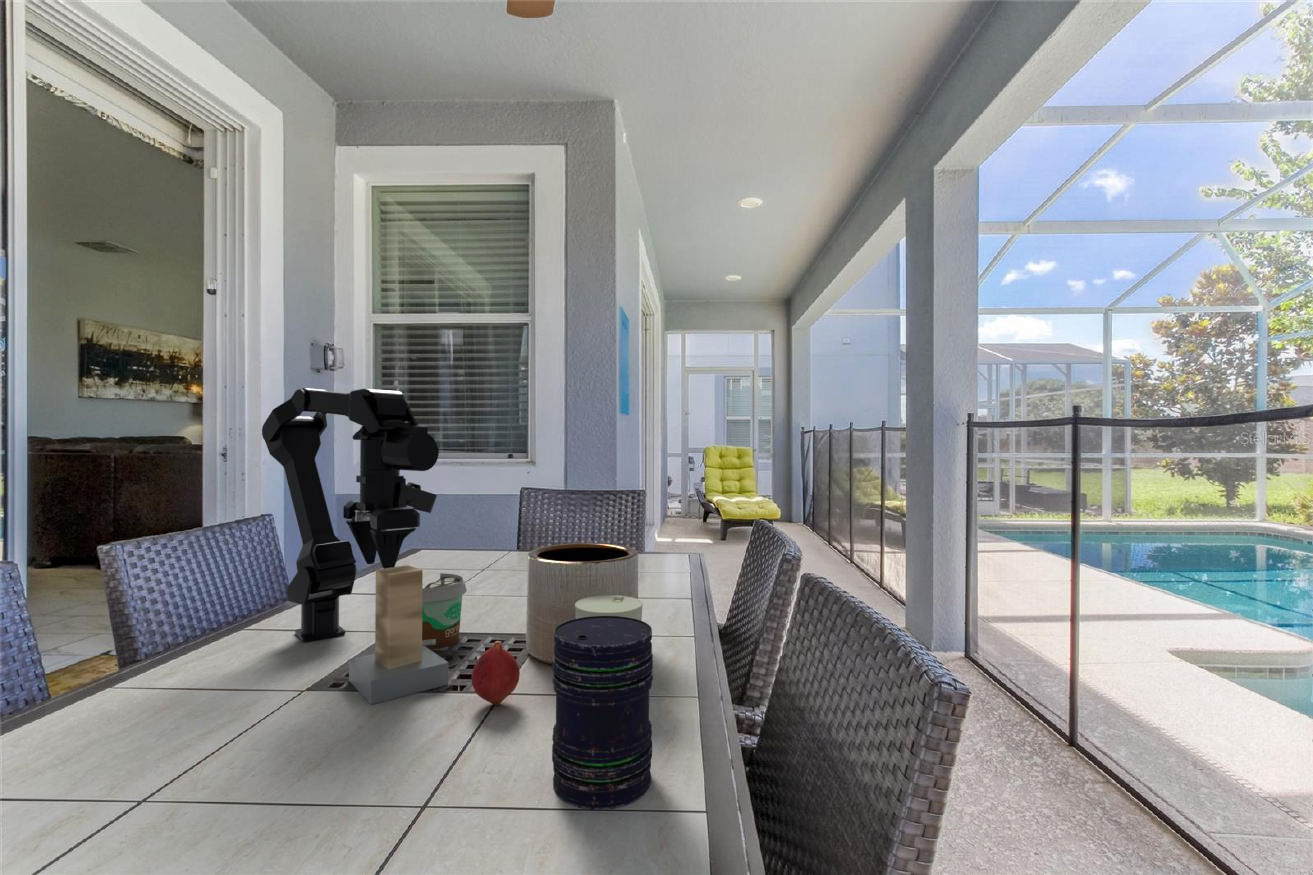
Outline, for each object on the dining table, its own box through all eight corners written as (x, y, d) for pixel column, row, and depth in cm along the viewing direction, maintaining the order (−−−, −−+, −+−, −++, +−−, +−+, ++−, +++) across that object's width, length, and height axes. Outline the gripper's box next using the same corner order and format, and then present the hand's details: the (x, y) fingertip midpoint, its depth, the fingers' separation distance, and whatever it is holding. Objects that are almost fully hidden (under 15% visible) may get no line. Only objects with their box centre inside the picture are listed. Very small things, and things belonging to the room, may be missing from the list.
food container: (451, 654, 98) (451, 590, 98) (412, 653, 98) (412, 589, 98) (475, 630, 110) (476, 572, 110) (441, 629, 110) (441, 572, 110)
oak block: (375, 660, 86) (375, 569, 86) (407, 652, 89) (407, 565, 89) (389, 669, 83) (389, 574, 83) (421, 660, 86) (422, 569, 86)
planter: (621, 629, 111) (622, 540, 111) (653, 663, 94) (653, 559, 94) (520, 638, 106) (520, 545, 106) (533, 676, 89) (534, 565, 89)
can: (651, 680, 88) (652, 594, 88) (627, 707, 79) (628, 612, 79) (591, 672, 91) (592, 589, 91) (561, 697, 82) (562, 605, 82)
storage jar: (602, 746, 69) (603, 610, 69) (672, 777, 63) (673, 628, 63) (530, 784, 61) (531, 631, 61) (602, 824, 55) (603, 654, 55)
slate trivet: (348, 680, 87) (349, 659, 87) (421, 664, 93) (421, 643, 93) (371, 704, 79) (371, 680, 79) (448, 684, 86) (448, 662, 86)
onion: (476, 718, 75) (477, 651, 75) (467, 700, 81) (467, 638, 81) (524, 709, 78) (524, 644, 78) (512, 692, 83) (512, 631, 83)
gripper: (453, 470, 97) (453, 571, 97) (410, 465, 111) (410, 554, 111) (378, 472, 90) (377, 581, 90) (342, 467, 104) (342, 561, 104)
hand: (379, 568), depth 99 cm, fingers open, 9 cm apart
